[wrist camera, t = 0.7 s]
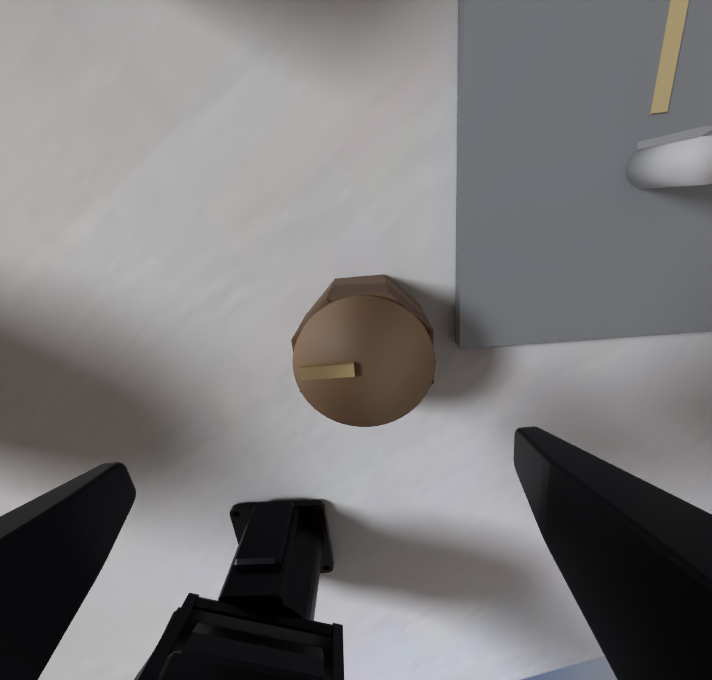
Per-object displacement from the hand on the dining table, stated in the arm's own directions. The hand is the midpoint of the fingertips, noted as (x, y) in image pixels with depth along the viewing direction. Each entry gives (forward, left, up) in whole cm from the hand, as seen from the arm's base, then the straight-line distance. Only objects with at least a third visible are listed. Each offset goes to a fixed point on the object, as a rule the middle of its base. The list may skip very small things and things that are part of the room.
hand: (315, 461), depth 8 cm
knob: (-1, -1, -12) cm, 12 cm away
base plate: (+6, -14, -12) cm, 19 cm away
